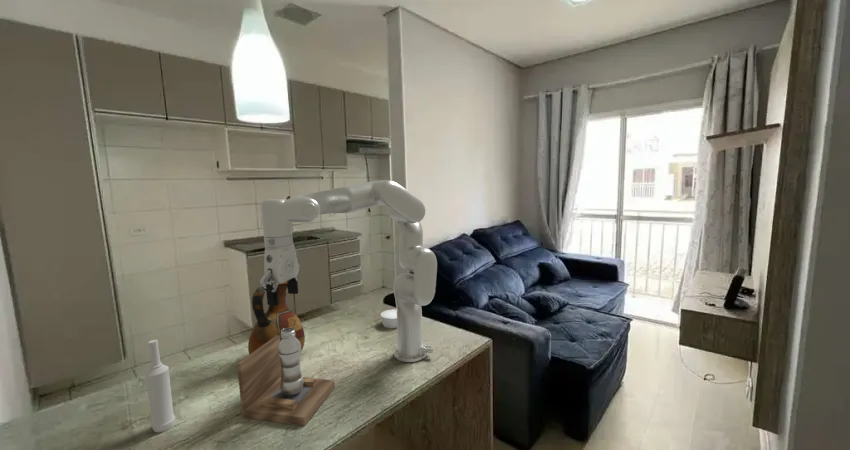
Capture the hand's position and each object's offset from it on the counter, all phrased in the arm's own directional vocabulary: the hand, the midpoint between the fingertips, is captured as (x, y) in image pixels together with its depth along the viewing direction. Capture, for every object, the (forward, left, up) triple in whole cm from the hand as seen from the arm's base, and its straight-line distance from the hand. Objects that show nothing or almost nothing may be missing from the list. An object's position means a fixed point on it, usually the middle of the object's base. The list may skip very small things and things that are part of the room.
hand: (283, 298), depth 101 cm
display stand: (0, 0, -33) cm, 33 cm away
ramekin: (-14, -60, -33) cm, 70 cm away
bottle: (+29, +16, -33) cm, 47 cm away
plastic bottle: (0, 0, -30) cm, 30 cm away
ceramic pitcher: (+21, -24, -33) cm, 46 cm away
